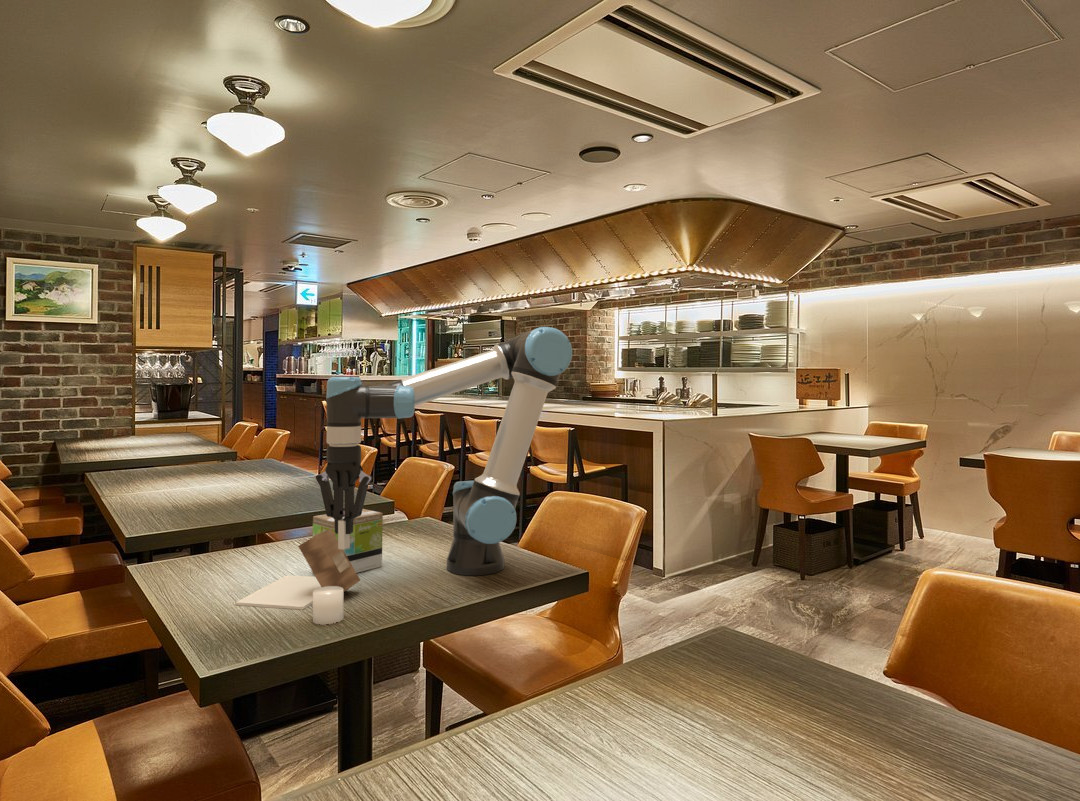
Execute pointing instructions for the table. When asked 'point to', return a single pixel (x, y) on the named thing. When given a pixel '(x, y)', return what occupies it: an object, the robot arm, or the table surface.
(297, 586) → the felt mat
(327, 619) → the white pillar candle
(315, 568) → the wooden block
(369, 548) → the tea box
